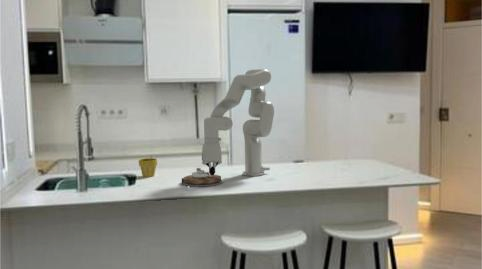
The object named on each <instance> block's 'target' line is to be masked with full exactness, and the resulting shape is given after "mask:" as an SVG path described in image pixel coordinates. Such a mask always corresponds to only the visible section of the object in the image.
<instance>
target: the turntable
mask: <svg viewBox="0 0 482 269" xmlns="http://www.w3.org/2000/svg"><path fill="white" fill-rule="evenodd" d="M197 170H202V168H201V167H196V171H197ZM182 178H183V180H184V183H187V184H194V185H204V184H214V183H218V182H220V181H221V179H222V176H221V175H219V174H214V175H210V174H209V178H207V179H192V174H191V175H190V174H189V175H185V176H184V177H182Z"/></svg>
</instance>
